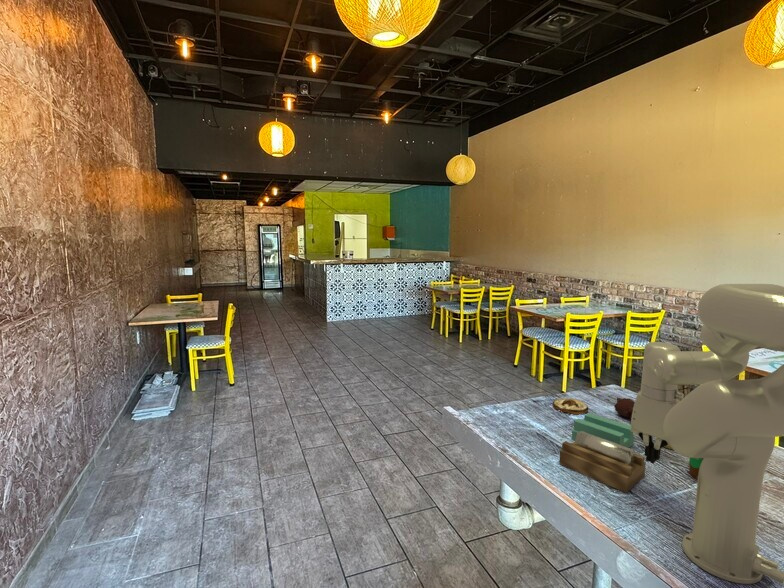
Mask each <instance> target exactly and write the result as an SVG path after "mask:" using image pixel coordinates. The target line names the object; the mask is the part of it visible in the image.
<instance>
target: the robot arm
mask: <svg viewBox="0 0 784 588" xmlns="http://www.w3.org/2000/svg"><path fill="white" fill-rule="evenodd" d="M699 299H700V300H699V302H698V305H697V315H698V317H699V320H700V322H701V323H702V324H703V325H701V328H700V337H701V340H702V342H703V343H704V345H705V346H706V348H708V351H701V350H698V351H697V350H695V351H694V350H693V351H691V350H684V351H683V350H682V351H681V348H680V347H679V346H677V345H675V344H673V343H669V342H663V341H651V342H647V343H646V344H645V346H644V350H643V362H642V371H641V373H642V374H641V383H640V390H639V391H638V392H637V394H636V397H635V400H634V402H635V403H634V407H633V412H632V418H631V419H630V426H631V429H630V431H631V432H633V434H634V435H637V436H638V437H639V438H640V439H641V440H642V442H643V445H644V446H645V448H644V457H645V462H650V463H651V464H655V462H656V461H659V460H660V458H661V451H662V450H661V449H662V448H665V447H664V446H667V445H668V446H670V447H671V448H672V449H673V450H672V449H671V450H672V451H675V453H677V454H679V455H681V456H684V457H686V458H689V457H691V458H704V459H703V460H702V463H701V465H700V468H699V474H698V481H697V484H696V493H695V494H696V495H695V503H694V504H695V505H694V513H693V514H694V515H693V526H692V532H689V533H687V534H686V535H684V536H683V538H682V542H681V546H682V550H683V552H684V553H685V555H686V556H687V557H688V558H689V559H690V561H692V562H693V563H694V565H696V566H697V567H699V568H701V569H702V570H704V571H706V572H707V573H708V574H711V575H712V576H715V577H717V578H719V579H723V580H725V581H729V582H730V583H731V582H732V583H736V584H742V585H751V584H757V583H758V582H760V581H761V580H763V576H767V577H769V578H770V579H772V580H774V581H777V582H779V583H781V584H784V571H782V570H780V569H779V563H778V562H775V561H773V560H772V559H768V558H766V557H763V555H762V554H760V553H759V551H760V550H759V548H760V546H759V545H757V544H756V540H757V539H756V538H757V537H756V536H757V530H758V521H759V520H758V519H759V511H760V502H761V497H762V491H763V482H764V476H765V472H766V469H767V466H768V463H769V461H770V459H771V456H772V454H773V451H774V448H775V444H776V438H777V437H780V438H781V437H784V363H783V364H781V366H779V367H778V368H776V369H775V370H774V371H772V372H770V373H769V374H767V375H765V376H763V377H760V378H755V379H753V378H752V379H733V378H736V377H737V376H738V375H740V374H742V373H743V372H744V371H745V370H746V368H747V366H748V363H749V361H750V352H752V351H754V350H755V349H757V348H762V349H765V350H769V351H774V352H781V353H784V286H783V285H779V284H772V283H722V284H718V285H715V286H713V287H711V288H709V289H708V290H707V291H705V293H703V294H702V296H701V298H699ZM678 385H691V386H693V385H697V386H696V387H695V388H693V389H694V390H692V391H691V392H690V393H689V394H688V395H687V396H685V397H684V394H683V393H680V392H679V391H678V388H677V387H678ZM683 397H684V398H683ZM677 398H678V399H679V398H680V399H682V400H681V401H679V400H678V399H677ZM653 438H655V441H653V440H654V439H653Z"/></svg>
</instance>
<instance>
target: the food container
mask: <svg viewBox="0 0 784 588" xmlns="http://www.w3.org/2000/svg"><path fill="white" fill-rule="evenodd" d="M688 459H689V462H688V463H689V465H688V466H689V467H688V470H689V472H688V473H689V476H690V477H691V478H692V479H693V480H695V481H697V482H698V474H699V468H700V465H701V463H702V460H703V459H704V458H691V457H688Z"/></svg>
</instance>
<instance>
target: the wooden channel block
mask: <svg viewBox="0 0 784 588" xmlns="http://www.w3.org/2000/svg"><path fill="white" fill-rule="evenodd" d="M576 435H577V434H576ZM561 444H562V445H561V449H560V450H559V462H558V463H559V465H561V466H563V467H566V468H568V469H570V470H573V471H575V472H577V473H580V474H581V475H583V476H587V477H589V478H590V479H594V480H596V481H597V482H600V483H602V484H605V485H607V486H609V487H611V488H614V489H616V490H618V491H621V492H624V493H625V494H627V493H629V491H631V489H633V488H634V487H635V486H636V485H637V484H638V483H639V482H640V481H641V480H642V479H643V478H644V477H646V476H645V475H646V464H647V463H646V462H647V461H645V460H646V456H645V455H641V454H639V453H636V452H635V459H634V463H633V465H632V466H629V465H626V464H624V463H621V462H619V461H616V460H613V459H611V458H608V457H606V456H603V455H600V454H598V453H595V452H593V451H590V450H588V449H585V448H582V447H580V446H577V445H575V441H572V443H571V442H570V441H566V440H565V441H563V442H562V443H561Z"/></svg>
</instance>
